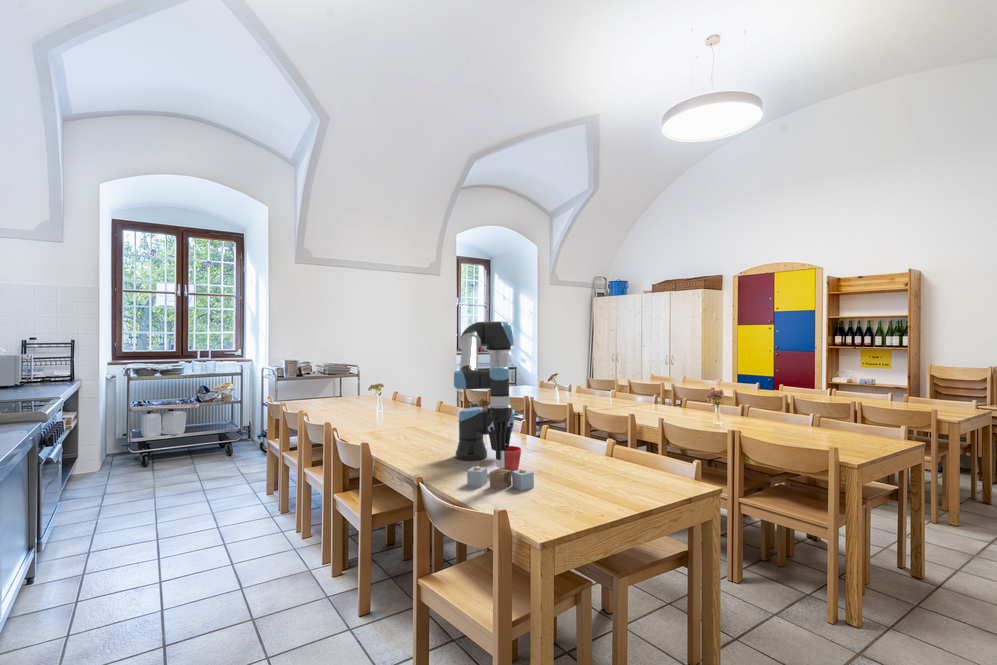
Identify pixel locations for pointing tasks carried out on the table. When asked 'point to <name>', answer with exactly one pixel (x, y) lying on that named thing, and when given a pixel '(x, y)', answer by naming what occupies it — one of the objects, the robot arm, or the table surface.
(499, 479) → the walnut block
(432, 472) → the table surface
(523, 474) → the stud block
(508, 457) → the flower pot
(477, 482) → the stud block
